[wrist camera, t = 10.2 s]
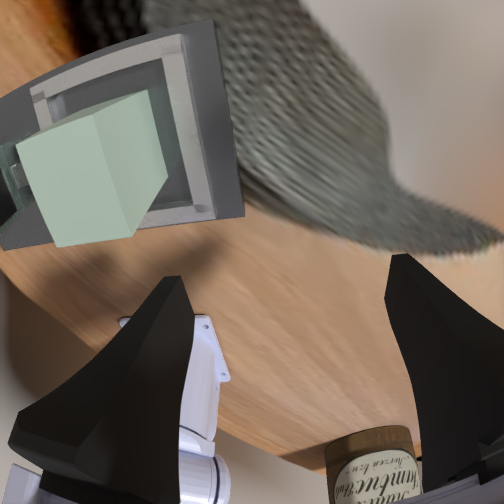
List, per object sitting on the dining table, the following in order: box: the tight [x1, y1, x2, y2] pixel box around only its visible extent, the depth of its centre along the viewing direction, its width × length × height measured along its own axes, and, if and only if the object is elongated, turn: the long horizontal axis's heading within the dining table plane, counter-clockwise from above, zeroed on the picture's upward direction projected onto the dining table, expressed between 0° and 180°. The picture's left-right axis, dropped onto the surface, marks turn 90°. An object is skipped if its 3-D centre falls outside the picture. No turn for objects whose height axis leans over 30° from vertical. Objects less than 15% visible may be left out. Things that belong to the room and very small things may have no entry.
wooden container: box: [325, 426, 422, 504], centre depth 35 cm, size 15×15×22 cm
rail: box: [0, 19, 245, 251], centre depth 14 cm, size 20×11×7 cm, turn 98°
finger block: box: [16, 90, 168, 248], centre depth 13 cm, size 4×5×6 cm
